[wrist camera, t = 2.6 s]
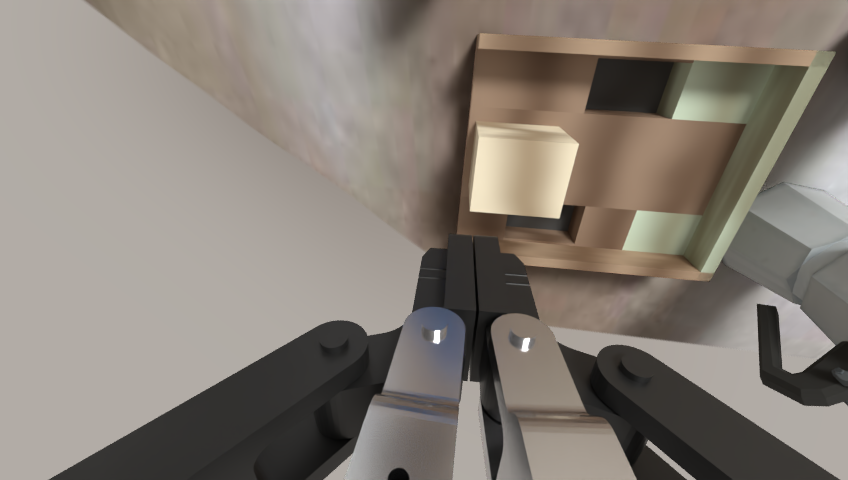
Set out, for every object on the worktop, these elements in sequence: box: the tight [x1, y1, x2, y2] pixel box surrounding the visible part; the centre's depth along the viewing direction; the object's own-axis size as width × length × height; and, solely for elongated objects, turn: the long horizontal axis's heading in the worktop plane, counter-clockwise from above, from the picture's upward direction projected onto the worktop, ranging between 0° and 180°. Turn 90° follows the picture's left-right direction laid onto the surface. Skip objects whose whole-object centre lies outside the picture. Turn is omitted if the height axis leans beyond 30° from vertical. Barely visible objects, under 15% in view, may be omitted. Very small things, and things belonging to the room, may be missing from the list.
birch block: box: [469, 121, 579, 219], centre depth 25 cm, size 6×5×5 cm
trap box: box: [456, 33, 836, 282], centre depth 27 cm, size 20×16×5 cm
